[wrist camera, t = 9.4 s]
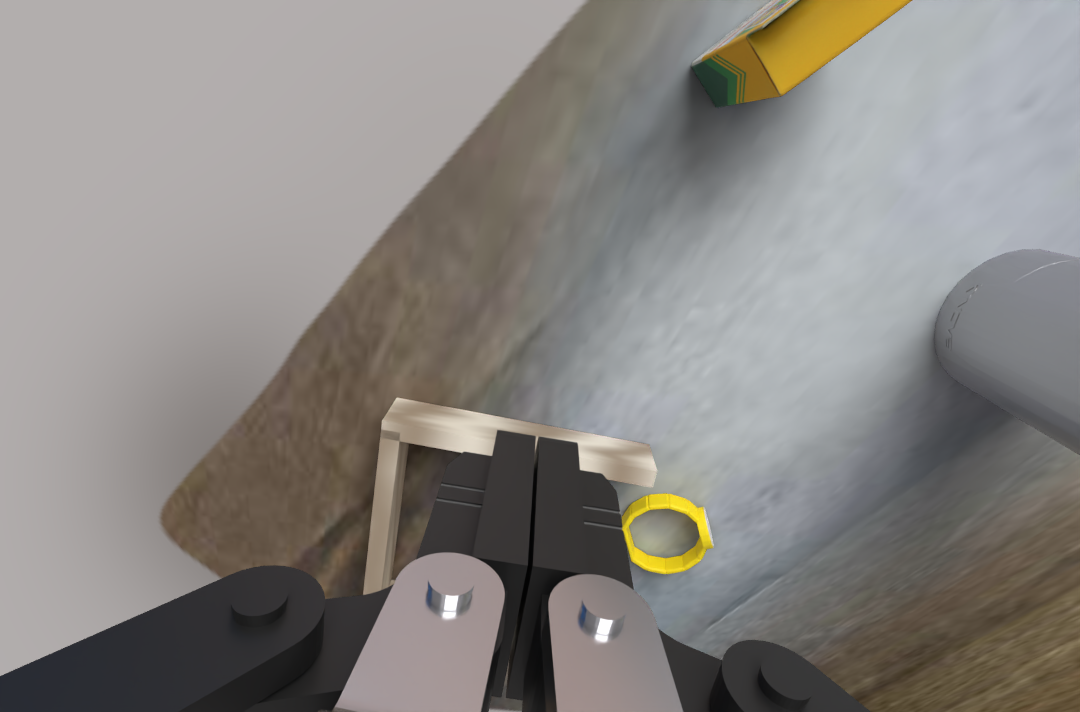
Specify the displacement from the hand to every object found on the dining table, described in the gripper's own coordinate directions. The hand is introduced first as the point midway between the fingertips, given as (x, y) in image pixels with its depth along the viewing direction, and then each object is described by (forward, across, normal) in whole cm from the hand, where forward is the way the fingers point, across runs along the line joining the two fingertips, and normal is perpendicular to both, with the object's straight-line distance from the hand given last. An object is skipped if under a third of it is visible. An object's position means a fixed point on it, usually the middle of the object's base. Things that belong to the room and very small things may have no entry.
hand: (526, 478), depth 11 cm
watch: (+26, -9, +20) cm, 34 cm away
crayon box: (+26, -10, -13) cm, 31 cm away
